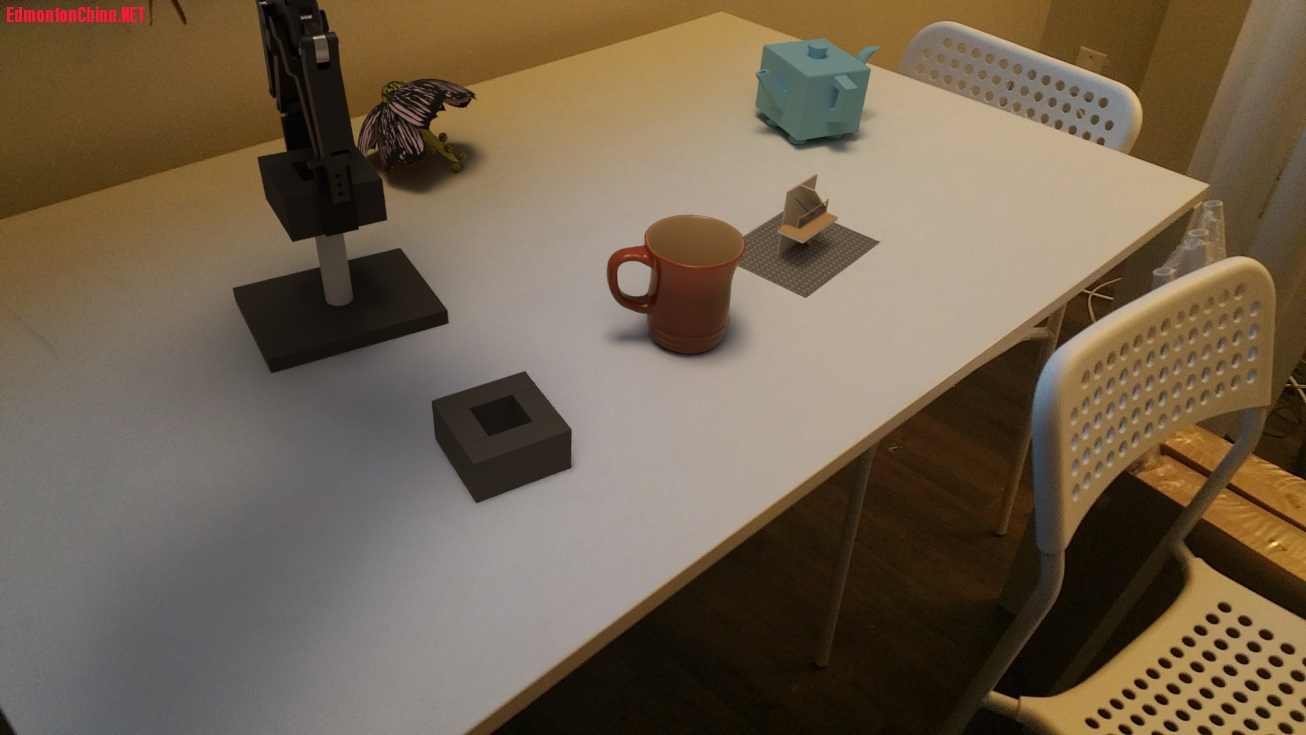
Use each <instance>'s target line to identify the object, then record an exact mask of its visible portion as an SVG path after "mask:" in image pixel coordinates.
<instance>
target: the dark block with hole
mask: <svg viewBox="0 0 1306 735" xmlns="http://www.w3.org/2000/svg"><path fill="white" fill-rule="evenodd" d="M355 147H356V152H357V154H358V162H357V163H355V164H350V170H351V176H352V183H353V190H354V197H355V204H356V211H357V218H358V225H359V228H360V227H364V226H368V225H373V224H376V223H377V224H378V223H382V222H385V221H388V213H387V205H386V197H385V190H384V181H383V177H382V176H381V174H379V173H378V171H377V170H376V169H375V168H374V166H373V165H372V164H371V163H370V161H369V160H368V158H367V159H366V158H365V156H364V155H363V154H362V153H361V151H360V150H359V149H358V148H357V147H358V146H357V145H356V144H355ZM314 157H315V154H314V151H313V147H307V148H302V149H296V150H291V151H286V150H285V151H281V152H275V153H270V154H266V155H265V154H264V155H260V156H257V157H256V159H257V163H258V168H259V173H260V178H261V182H262V187H263V192H264V197H265V200H266V202H267V204H268V205H269V206H270V208H271V209H272V211H273V213H274V215H275V216H276V218H277V220H278V221H279V223H280V224H281V225H282V227H283V229H284V231H285V232H286V234H287V235H288V237H289V239H290V240H291V242H292V243H295V242H300V241H303V240H307V239H312V238H315V237H317V236H321V235H325V234H324V230H323V224H322V218H321V213H320V207H319V201H318V195H317V189H316V183H315V177H314V172H313V169H309V168H308V166H307V163H306V161H309V160H314V159H315V158H314Z"/></svg>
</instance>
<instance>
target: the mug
mask: <svg viewBox="0 0 1306 735" xmlns="http://www.w3.org/2000/svg"><path fill="white" fill-rule="evenodd" d="M743 236H744V235H743V234H742V233H741V232H740V231H739V229H737V228H736V227H734V226H732V225H731V224H729V223H728V222H725V221H723V220H720V219H717V218H715V217H711V216H706V215H700V214H699V215H698V214H680V215H679V214H678V215H673V216H667V217H664V218H662V219H660V220H659V219H658V220H657V221H656V222H654V223H653V224H651V225H650V226H649V227H648V229H646V230H645V232H644V235H643V240H644V243H643V244H642V245H636V246H630V247H624V248H620V249H618V250H616V251H615V252H613V253H612V254H611V255H610V257H609V258H608V260H607V263H606V282H607V287H608V289H609V292H610V294H611V296H612V298H613V299H614V300H615V301H616V303H618V305H619V306H621V307H623V308H625V309H627V310H630V311H632V312H635V313H638V314H643V315H646V323H647V327H648V333H649V335H650V337H651V338H652V340H653V341H654V342H655V343H656V344H657V345H659V346H660V347H662V348H665V349H666V350H668V351H671V352H674V353H678V354H685V355H692V354H699V353H703V352H707V351H709V350H711V349H714V348H715V347H717V345H719V344H720V343H721V341H722V340H723V337H724V334H725V332H726V331H727V327H728V324H729V319H730V307H731V299H732V287H733V278H734V276H735V272H736V270H737V268H738V263H739V261H740V259H741V258H742V256H743V254H744V251H745V247H746V244H745V240H744V237H743ZM629 262H636V263H641V264H643V265H644V266H646V267H648V268H650V276H649V282H648V283H649V284H648V289H647V292H646V293H645V294H643V295H630V294H628V293H625V292H624V291H623V290H622V289H621V288H620V286H619V278H618V271H619V268H620V266H621V265H622V264H624V263H629Z"/></svg>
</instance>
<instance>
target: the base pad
mask: <svg viewBox="0 0 1306 735" xmlns="http://www.w3.org/2000/svg"><path fill="white" fill-rule="evenodd" d="M314 240H315V245H316V251H317V252H316V253H317V258H318V261H319V262H318V263H319V266H318V267H314V268H310V269H306V270H301V271H297V272H293V273H289V274H284V275H281V276H280V275H279V276H276V277H272V278H268V279H264V280H260V281H255V282H251V283H247V284H243V285H239V286H235V287H233V288H232V292H233V296H234V300H235V303H236V305H237V307H238V309H239V311H240V313H241V315H242V317H243V319H244V321H245V323H246V325H247V327H248V329H249V331H250V334H251V335H252V337H253V339H254V341H255V343H256V345H257V347H258V350H259V351H260V353H261V355H262V357H263V359H264V362H265V363H266V365H267V368H268V369H269V371H270V373H275V372H279V371H283V370H286V369H290V368H293V367H296V366H300V365H303V364H304V365H305V364H307V363H308V364H309V363H311V362H315V361H318V360H322V359H325V358H328V357H333V356H335V355H336V356H337V355H339V354H344V353H347V352H349V351H353V350H358V349H361V348H364V347H368V346H371V345H375V344H379V343H381V342H385V341H388V340H392V339H396V338H400V337H404V336H407V335H411V334H414V333H416V332H417V333H418V332H420V331H421V332H422V331H425V330H428V329H431V328H435V327H439V326H442V325H445V324H449V312H448V311H449V310H448V309H447V307H446V306H445V304H444V303H443V301H441V299H440V298H439V297H438V295H437V294H436V293H435V291H434V290H433V288H432V287H431V286H430V285H429V284H428V282H427V280H426V279H425V278H424V277H423V276H422V274H421V273H420V272H419V270H418V269H417V268H416V266H415V265H414V263H413V262H412V260H410V259H409V257H408V256H407V254H406V253H405V251H403V249H402V248H401V247H398V248H393V249H388V250H385V251H380V252H376V253H372V254H369V255H368V254H367V255H364V256H360V257H355V258H351V259H348V254H347V246H346V241H345V233H342V234H338V235H333V236H329V237H326V235H321V236H317V237H314Z"/></svg>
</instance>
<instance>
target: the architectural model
mask: <svg viewBox="0 0 1306 735" xmlns="http://www.w3.org/2000/svg"><path fill="white" fill-rule="evenodd" d="M817 180H818V173H815V174H813V175H812V176H810V177H808V178H806V179H805V180H803V181H801V182H800V183H798V184H796V185H795V186H793V187H791V188H789V189H788V190H786V195H785V201H784V206H783V211H781V212H780V213H777V215H775V216H774V217H773V216H772V218H770V219H768V220H767V221H766V222H764V223H762V224H760V225H759V226H758V227H756V228H755V229H752V230H751V231H750V232H748V233H747V234H744V235H742V236H743V237H744V240H745V244H746V247H745V251H744V254H743V256H742V258H741V259H740V261H739V263H738V266H739V267H741V268H742V269H745V270H747V271H749V272H751V273H753V274H756V275H757V276H759V277H761V278H764V279H766V280H768V281H770V282H772V283H774V284H777V285H778V286H781V287H783V288H785V289H787V290H789V291H791V292H792V293H793V292H794V293H796V294H797V295H800V296H802V297H804V298H807V297H809V296H810V295H812V294H813V293H814V292H815V291H817V290H818V289H820V287H822V286H823V285H825V284H826V283H828V282H829V281H830V280H831V279H833V278H834V277H835V276H837V275H838V274H839V273H841V272H842V271H844V270H845V269H846V268H847V267H849V266H850V265H851V264H853V263H854V262H856V261H857V260H858V259H860V258H861V257H862V256H863V255H865V254H866V253H867V252H869V251H870V250H872V249H873V248H875V247H876V246H877V245H878V244H879V243H880V240H877V239H875V238H872V237H870V236H867V235H866V234H863V233H860V232H858V231H856V230H853V229H851V228H849V227H846V226H844V225H842V224H839V223H837V221H838V218H839V217H838V216H837V215H835V214H832V213H830V212H827V210H828V206H829V202H830V200H829V198H826V200H825V201H824V202H823V200H822V199H821V197H820V196H819V194H818V193H817V191H816V187H817V186H816V185H817V182H818V181H817ZM738 266H737V267H738Z"/></svg>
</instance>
